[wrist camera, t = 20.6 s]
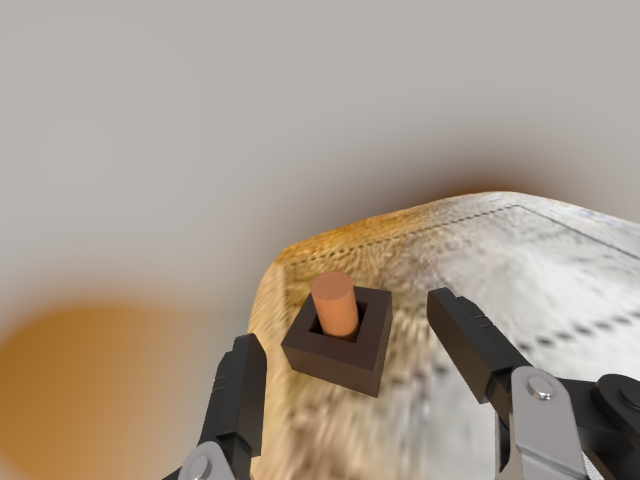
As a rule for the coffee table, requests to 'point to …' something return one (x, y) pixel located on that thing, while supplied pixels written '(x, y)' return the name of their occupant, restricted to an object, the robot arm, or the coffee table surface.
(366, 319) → the dark square open box
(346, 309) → the orange cylinder
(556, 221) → the coffee table surface
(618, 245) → the coffee table surface
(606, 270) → the coffee table surface
